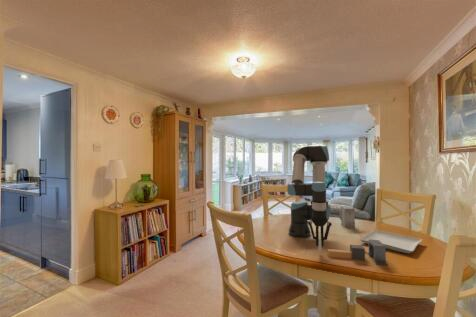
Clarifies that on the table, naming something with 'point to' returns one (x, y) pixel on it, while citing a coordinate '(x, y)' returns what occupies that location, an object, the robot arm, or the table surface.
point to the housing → (377, 252)
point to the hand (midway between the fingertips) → (319, 251)
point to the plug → (349, 252)
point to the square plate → (393, 241)
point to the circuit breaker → (347, 217)
